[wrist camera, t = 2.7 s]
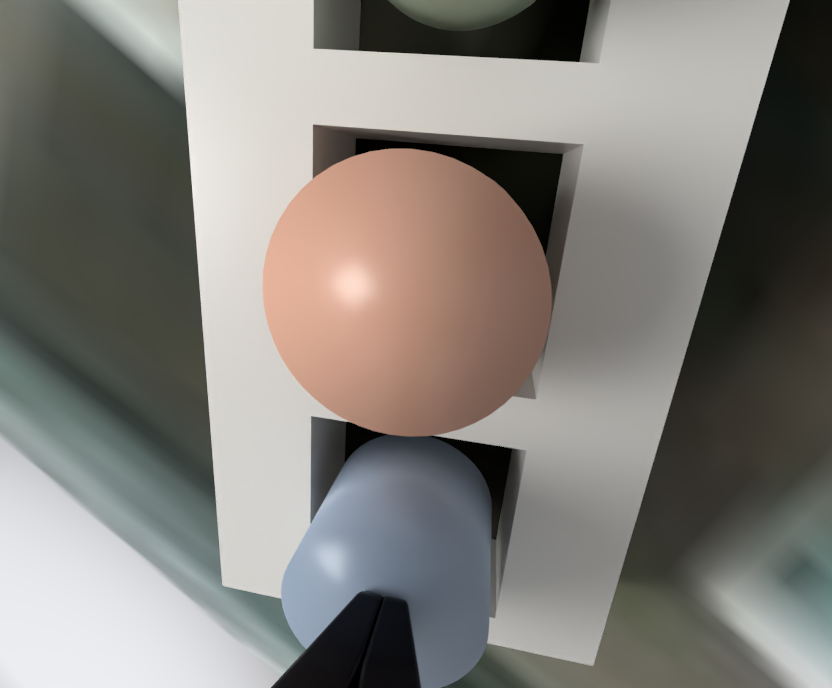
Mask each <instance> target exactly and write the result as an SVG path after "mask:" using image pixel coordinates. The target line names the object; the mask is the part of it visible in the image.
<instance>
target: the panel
mask: <svg viewBox="0 0 832 688" xmlns="http://www.w3.org/2000/svg"><path fill="white" fill-rule="evenodd" d="M789 1H790V0H590V5H589V10H588V16H587V22H586V28H585V33H584V39H583V45H582V51H581V56H580V62H566V61H546V60H527V59H507V58H487V57H468V56H448V55H429V54H409V53H389V52H370V51H359V39H360V10H361V0H178V7H179V20H180V33H181V46H182V59H183V72H184V86H185V99H186V112H187V125H188V138H189V151H190V165H191V178H192V191H193V204H194V217H195V230H196V243H197V257H198V270H199V283H200V296H201V309H202V322H203V335H204V349H205V362H206V375H207V388H208V401H209V414H210V428H211V441H212V454H213V467H214V480H215V493H216V506H217V520H218V533H219V546H220V559H221V572H222V585H223V586H226V587H230V588H235V589H240V590H244V591H249V592H253V593H258V594H263V595H267V596H272V597H277V598H281V587H282V580H283V576H284V573H285V571H286V568H287V566H288V564H289V562H290V560H291V559H292V557H293V555H294V553H295V551H296V550H297V548H298V546H299V544H300V542H301V541H302V539H303V537H304V535H305V533H306V532H307V530H308V528H309V526H310V524H311V523H312V521H313V519H314V517H315V516H316V514H317V512H318V510H319V508H320V507H321V505H322V503H323V501H324V499H325V498H326V496H327V494H328V492H329V490H330V489H331V487H332V485H333V483H334V481H335V480H336V478H337V476H338V474H339V472H340V471H341V469H342V467H343V465H344V464H345V439H346V422H349V421H347V420H345V419H343V418H341V417H340V416H338V415H337V414H335V413H333V412H332V411H330V410H328V409H327V408H326V407H325V406H323V405H322V404H321V403H319V402H318V401H317V400H316V399H314V398H313V397H312V396H311V395H310V394H309V393H308V392H307V391H306V390H305V389H304V388H303V387H302V386H301V384H300V383H299V382H298V381H297V380H296V378H295V377H294V376H293V375H292V373H291V372H290V370H289V369H288V367H287V366H286V364H285V363H284V361H283V359H282V358H281V356H280V354H279V352H278V350H277V348H276V345H275V343H274V341H273V338H272V335H271V332H270V330H269V327H268V323H267V318H266V314H265V309H264V301H263V269H264V263H265V257H266V252H267V249H268V246H269V242H270V239H271V236H272V234H273V231H274V229H275V227H276V225H277V223H278V220H279V219H280V217H281V215H282V214H283V212H284V211H285V209H286V208H287V206H288V204H289V203H290V202H291V201H292V199H293V198H294V197H295V196H296V195H297V194H298V192H299V191H300V190H301V189H302V188H303V187H304V186H305V185H307V184H308V183H309V182H310V181H311V180H312V179H313V178H315V177H316V176H317V175H319V174H320V173H322V172H323V171H325V170H326V169H328V168H329V167H331V166H332V165H335V164H337V163H339V162H341V161H343V160H346V159H348V158H350V157H353V156H355V153H356V138H360V139H373V140H386V141H399V142H412V143H425V144H438V145H451V146H464V147H477V148H490V149H503V150H516V151H529V152H542V153H555V154H563V160H562V165H561V171H560V177H559V183H558V188H557V194H556V200H555V205H554V211H553V217H552V223H551V228H550V234H549V240H548V246H547V251H546V257H545V258H546V261H547V264H548V268H549V274H550V281H551V290H552V309H551V318H550V326H549V330H548V334H547V338H546V342H545V345H544V347H543V350H542V352H541V355H540V357H539V359H538V362H537V363H536V365H535V367H534V369H533V370H532V372H531V374H530V375H529V377H528V378H527V380H526V381H525V382H524V384H523V385H522V386H521V387H520V389H519V390H518V391H517V392H516V393H515V394H514V395H513V396H512V397H511V398H510V399H509V400H508V401H507V402H506V403H505V404H504V405H502V406H501V407H500V408H498V409H497V410H496V411H494V412H493V413H492V414H490V415H489V416H487V417H485V418H483V419H481V420H480V421H478V422H476V423H474V424H472V425H469V426H467V427H464V428H462V429H459V430H456V431H452V432H448V433H444V434H439V435H433V436H439V437H445V438H452V439H458V440H464V441H470V442H477V443H483V444H489V445H495V446H502V447H508V448H512V452H511V458H510V464H509V469H508V475H507V481H506V487H505V492H504V498H503V504H502V509H501V515H500V521H499V527H498V532H497V538H496V540H495V539H491V571H490V611H489V634H488V641H487V643H489V644H494V645H498V646H503V647H508V648H512V649H517V650H522V651H526V652H531V653H535V654H540V655H545V656H549V657H554V658H559V659H563V660H568V661H572V662H577V663H582V664H586V665H591V666H593V664H594V661H595V658H596V654H597V651H598V648H599V644H600V641H601V637H602V634H603V631H604V627H605V624H606V620H607V617H608V614H609V610H610V607H611V604H612V600H613V597H614V593H615V590H616V587H617V583H618V580H619V576H620V573H621V570H622V566H623V563H624V560H625V556H626V553H627V549H628V546H629V543H630V539H631V536H632V532H633V529H634V526H635V522H636V519H637V516H638V512H639V509H640V505H641V502H642V499H643V495H644V492H645V488H646V485H647V482H648V478H649V475H650V472H651V468H652V465H653V461H654V458H655V455H656V451H657V448H658V444H659V441H660V438H661V434H662V431H663V428H664V424H665V421H666V417H667V414H668V411H669V407H670V404H671V400H672V397H673V394H674V390H675V387H676V384H677V380H678V377H679V373H680V370H681V367H682V363H683V360H684V356H685V353H686V350H687V346H688V343H689V340H690V336H691V333H692V329H693V326H694V323H695V319H696V316H697V312H698V309H699V306H700V302H701V299H702V296H703V292H704V289H705V285H706V282H707V279H708V275H709V272H710V268H711V265H712V262H713V258H714V255H715V252H716V248H717V245H718V241H719V238H720V235H721V231H722V228H723V224H724V221H725V218H726V214H727V211H728V208H729V204H730V201H731V197H732V194H733V191H734V187H735V184H736V180H737V177H738V174H739V170H740V167H741V164H742V160H743V157H744V153H745V150H746V147H747V143H748V140H749V136H750V133H751V130H752V126H753V123H754V120H755V116H756V113H757V109H758V106H759V103H760V99H761V96H762V92H763V89H764V86H765V82H766V79H767V76H768V72H769V69H770V65H771V62H772V59H773V55H774V52H775V48H776V45H777V42H778V38H779V35H780V32H781V28H782V25H783V21H784V18H785V15H786V11H787V8H788V4H789Z"/></svg>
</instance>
